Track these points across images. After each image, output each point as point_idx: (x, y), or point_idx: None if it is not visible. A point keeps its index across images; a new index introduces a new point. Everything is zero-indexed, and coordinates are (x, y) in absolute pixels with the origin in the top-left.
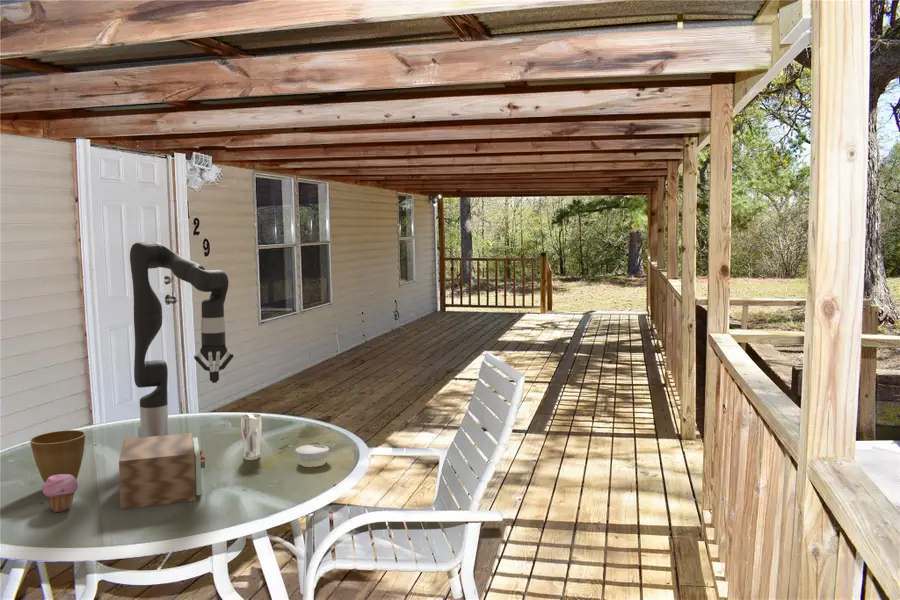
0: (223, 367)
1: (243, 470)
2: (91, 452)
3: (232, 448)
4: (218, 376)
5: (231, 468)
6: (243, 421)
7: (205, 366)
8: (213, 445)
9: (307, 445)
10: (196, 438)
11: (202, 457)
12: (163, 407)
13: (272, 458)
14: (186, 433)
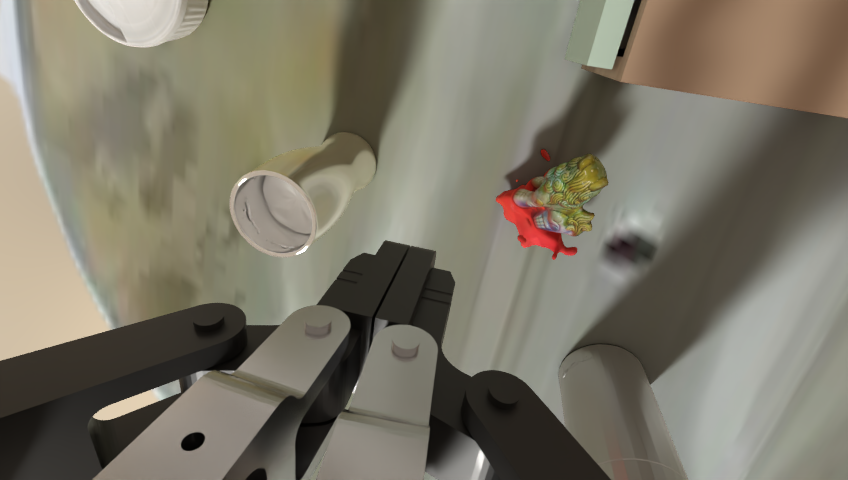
0: (194, 322)
1: (400, 29)
2: (759, 470)
3: None
4: (341, 279)
5: (434, 79)
6: (317, 194)
7: (510, 435)
8: None
9: (136, 36)
10: (600, 41)
11: (508, 195)
12: None
13: (287, 121)
14: (651, 84)
